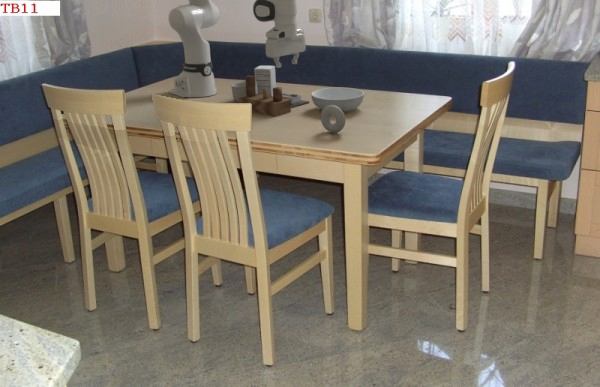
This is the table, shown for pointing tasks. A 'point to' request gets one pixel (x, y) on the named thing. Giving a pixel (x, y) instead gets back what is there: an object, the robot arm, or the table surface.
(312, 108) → the table surface
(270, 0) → the robot arm
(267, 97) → the wooden peg stand
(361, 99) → the serving bowl
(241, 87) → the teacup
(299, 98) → the lever cap
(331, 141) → the table surface
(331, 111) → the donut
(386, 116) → the table surface
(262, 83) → the supplement box
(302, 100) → the rubber mat
